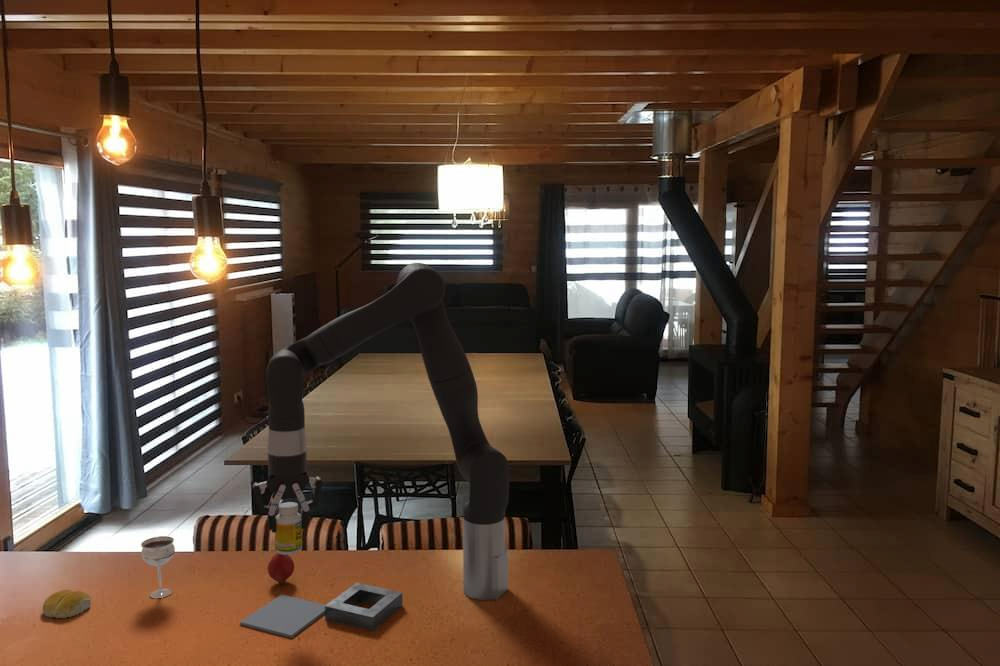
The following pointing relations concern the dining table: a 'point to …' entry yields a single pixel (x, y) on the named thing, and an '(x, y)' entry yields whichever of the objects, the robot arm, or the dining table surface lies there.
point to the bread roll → (66, 604)
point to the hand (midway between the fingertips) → (288, 529)
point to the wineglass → (158, 558)
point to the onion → (280, 567)
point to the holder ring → (369, 619)
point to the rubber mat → (285, 616)
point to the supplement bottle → (288, 529)
